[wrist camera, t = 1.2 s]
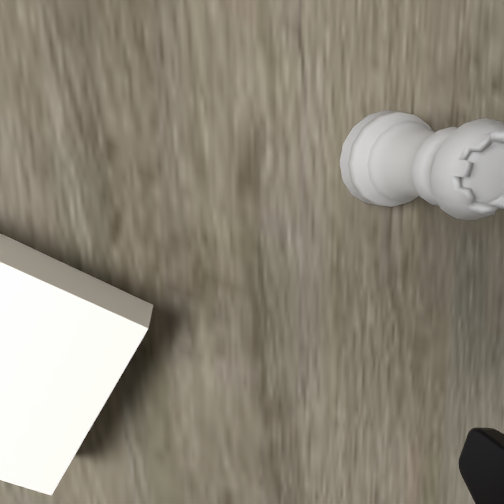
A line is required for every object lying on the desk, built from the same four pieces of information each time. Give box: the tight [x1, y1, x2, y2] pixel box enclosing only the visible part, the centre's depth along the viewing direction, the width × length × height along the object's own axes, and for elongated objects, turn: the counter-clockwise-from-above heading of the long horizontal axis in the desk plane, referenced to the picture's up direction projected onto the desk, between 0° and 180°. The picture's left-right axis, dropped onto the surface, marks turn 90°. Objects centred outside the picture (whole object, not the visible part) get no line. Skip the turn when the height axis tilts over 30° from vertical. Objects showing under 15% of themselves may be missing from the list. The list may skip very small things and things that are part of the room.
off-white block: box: [0, 233, 153, 495], centre depth 18 cm, size 10×10×3 cm
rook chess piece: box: [340, 110, 504, 221], centre depth 16 cm, size 4×4×8 cm
